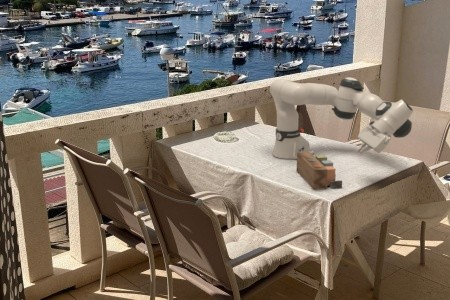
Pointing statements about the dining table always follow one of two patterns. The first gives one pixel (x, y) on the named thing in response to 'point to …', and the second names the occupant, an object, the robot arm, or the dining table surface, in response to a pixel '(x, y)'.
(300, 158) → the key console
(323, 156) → the olive key
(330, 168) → the terracotta key
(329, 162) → the slate key
